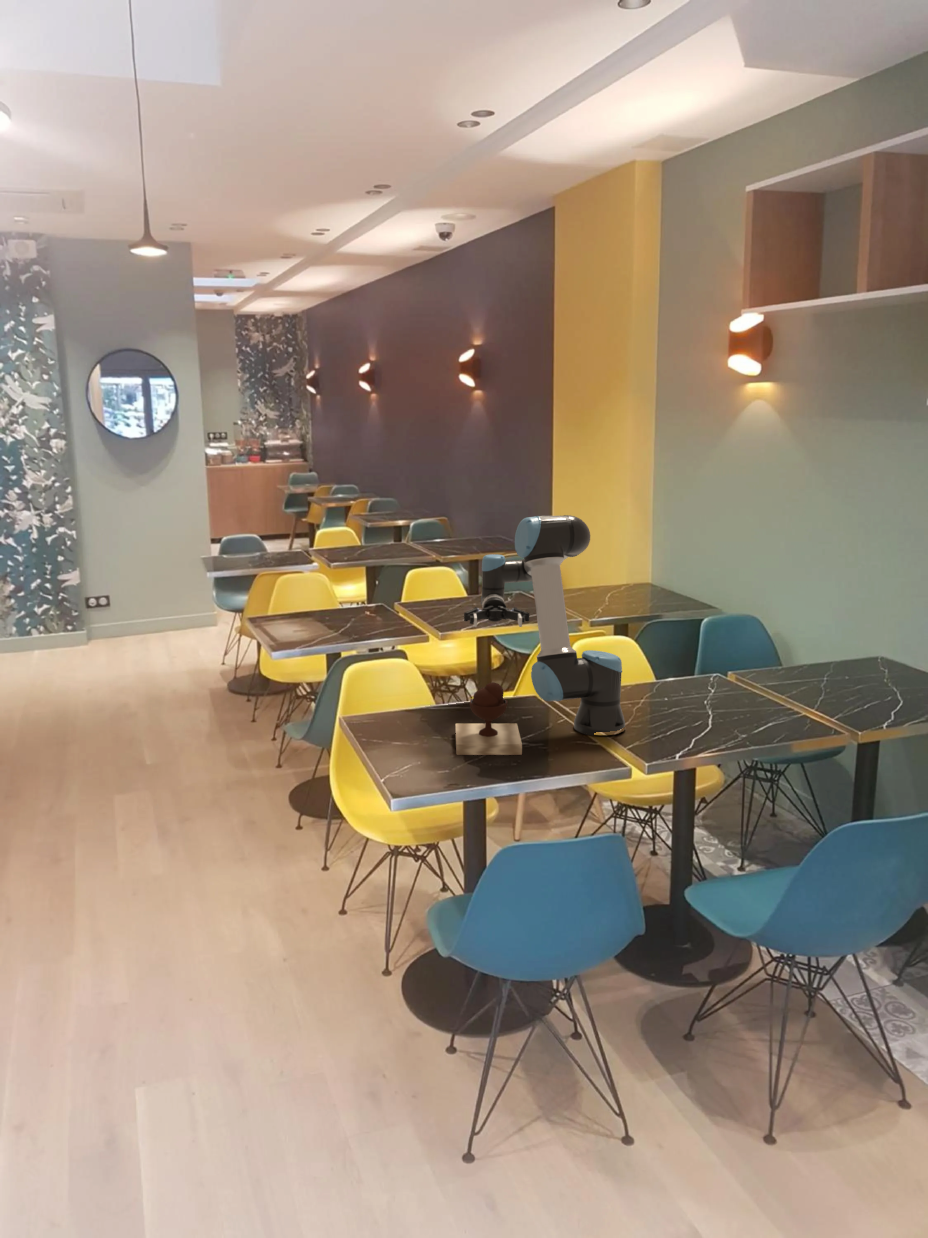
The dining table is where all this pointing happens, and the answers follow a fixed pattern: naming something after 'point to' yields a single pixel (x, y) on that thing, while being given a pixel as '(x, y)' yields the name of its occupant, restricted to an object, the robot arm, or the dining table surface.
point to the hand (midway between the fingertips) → (498, 622)
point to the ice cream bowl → (489, 706)
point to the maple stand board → (488, 740)
